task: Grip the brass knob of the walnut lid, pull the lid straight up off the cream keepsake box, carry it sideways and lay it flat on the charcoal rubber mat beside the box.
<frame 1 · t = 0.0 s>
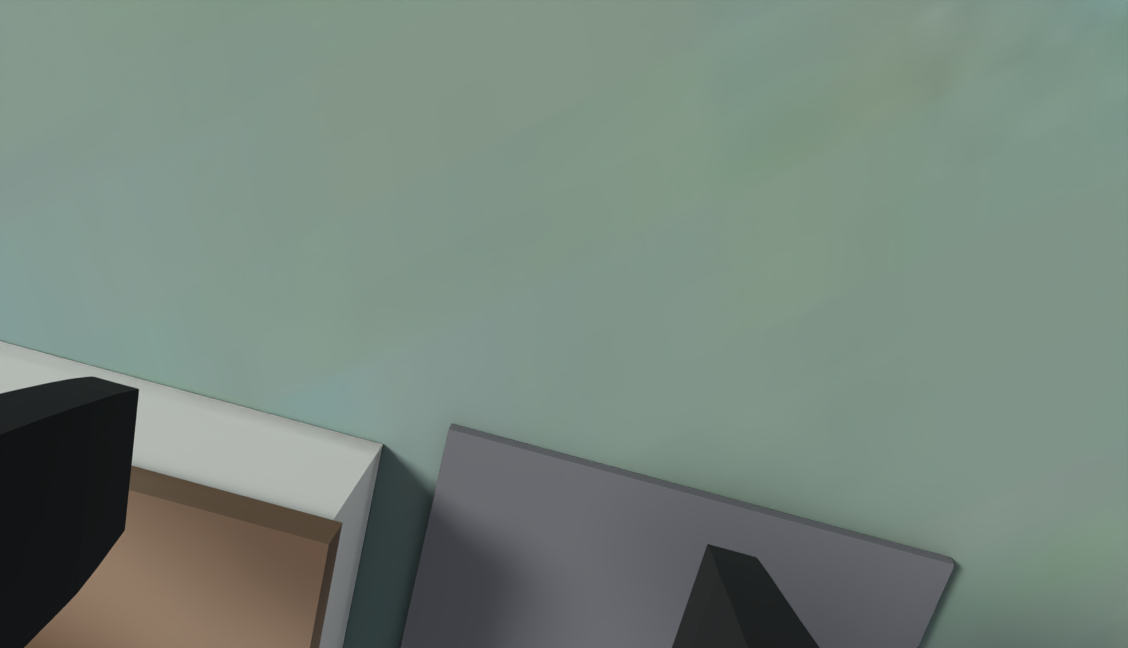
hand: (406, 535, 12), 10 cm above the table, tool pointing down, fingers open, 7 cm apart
box: (141, 574, 25), on the table
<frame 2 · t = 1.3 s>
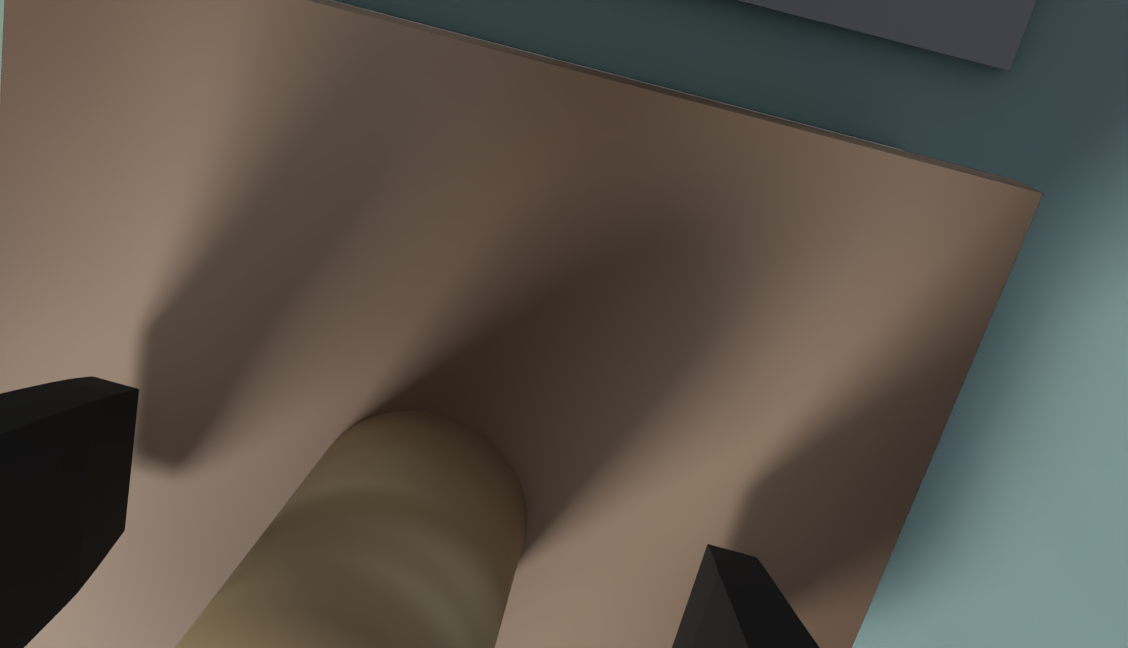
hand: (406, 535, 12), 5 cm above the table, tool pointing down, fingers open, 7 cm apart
lid: (433, 481, 13), point 4 cm above the table, touching box
box: (486, 374, 17), on the table
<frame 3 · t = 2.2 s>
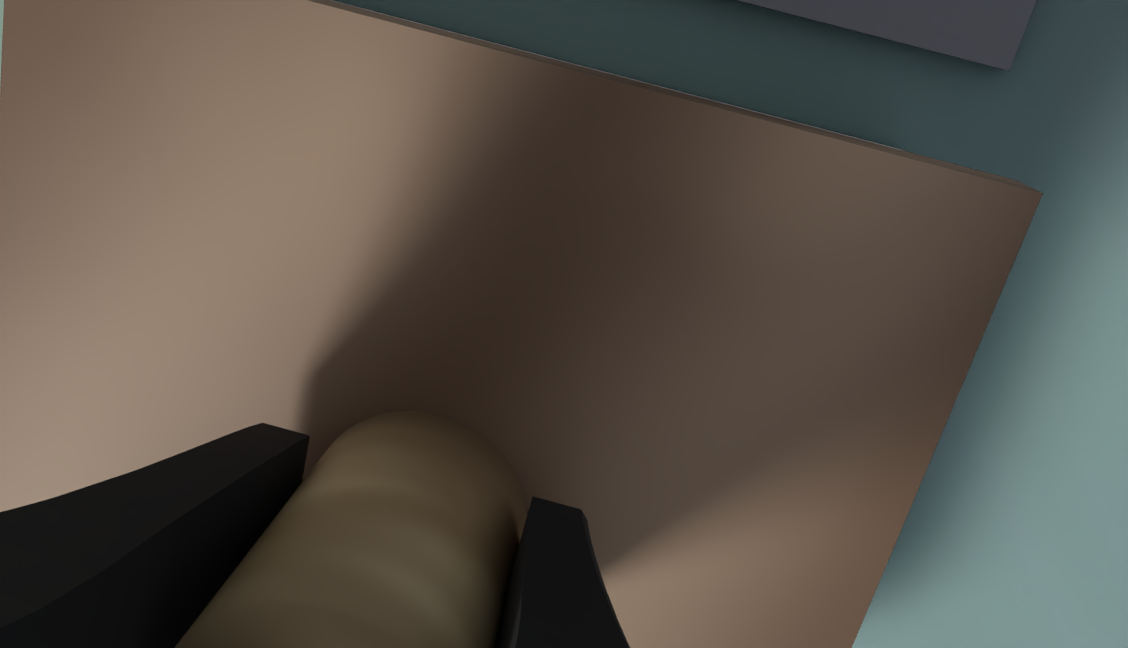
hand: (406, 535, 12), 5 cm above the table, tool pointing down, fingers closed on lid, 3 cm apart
lid: (433, 481, 13), point 4 cm above the table, touching box, gripper
box: (486, 374, 17), on the table
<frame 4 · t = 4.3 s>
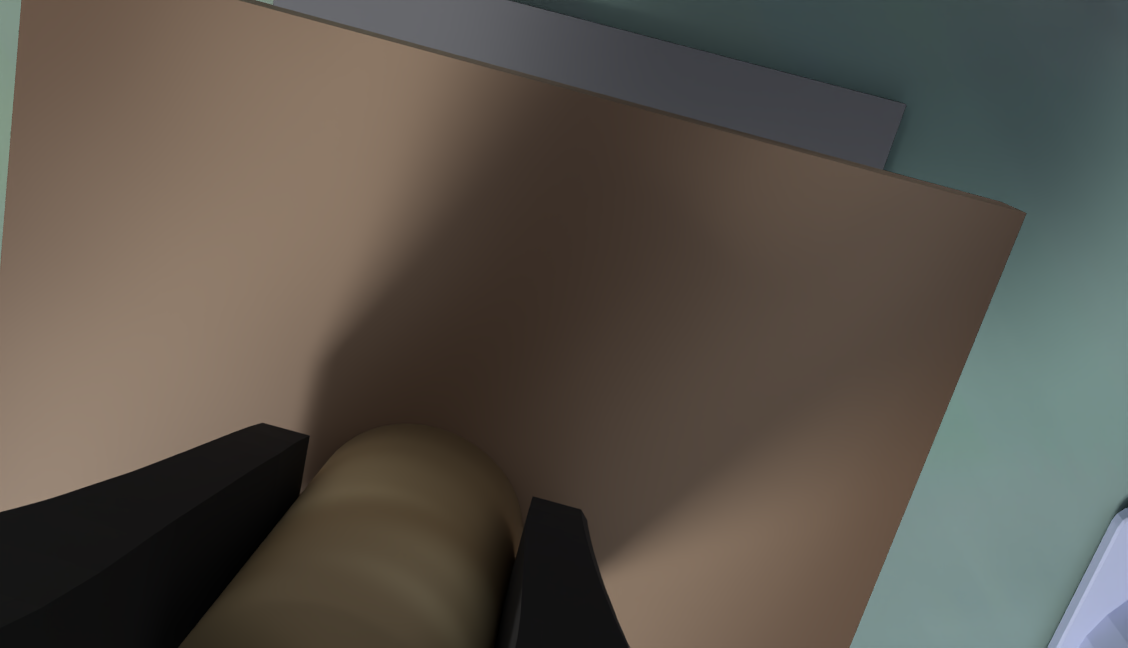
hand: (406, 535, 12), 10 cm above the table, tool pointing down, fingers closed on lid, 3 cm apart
mat: (526, 293, 21), on the table
lid: (430, 496, 13), point 9 cm above the table, touching gripper
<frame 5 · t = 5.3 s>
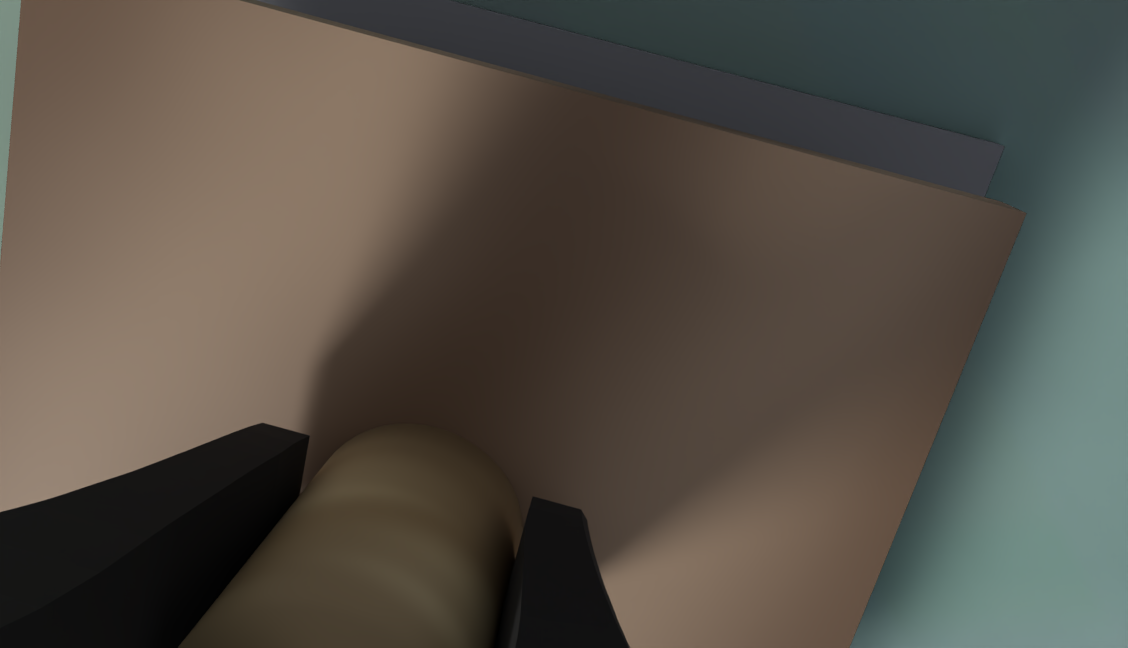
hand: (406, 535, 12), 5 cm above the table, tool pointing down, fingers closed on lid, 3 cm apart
mat: (478, 394, 16), on the table
lid: (429, 496, 13), point 3 cm above the table, touching gripper
when the fingers open (4 cm above the table, at t = 6.2 s): lid drops 1 cm, resting on mat.
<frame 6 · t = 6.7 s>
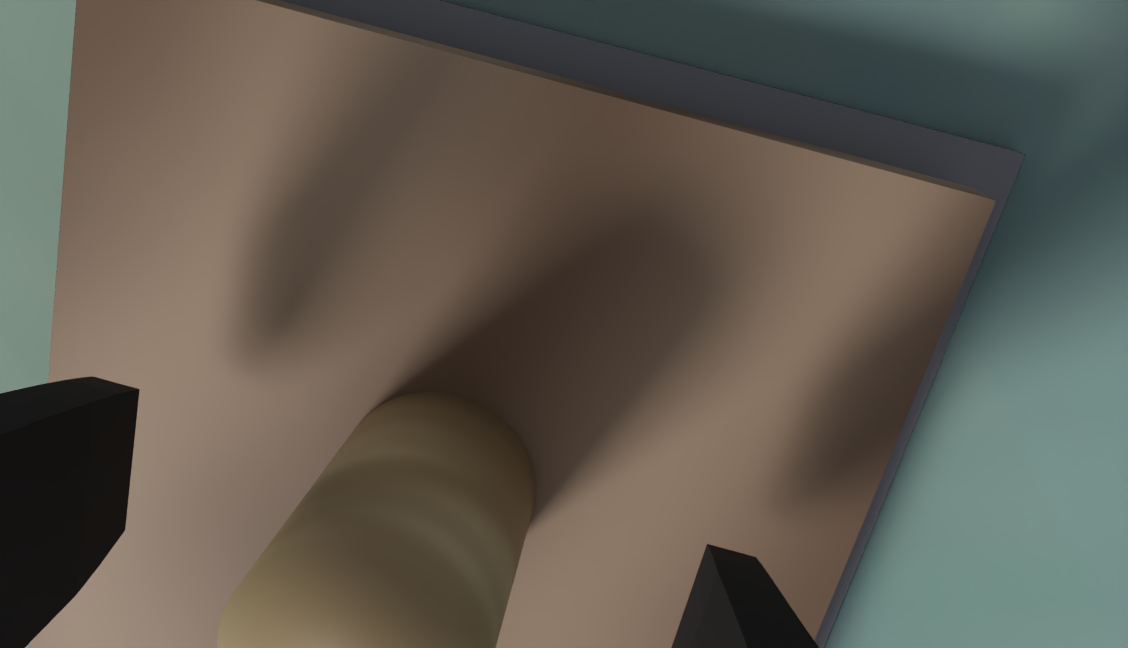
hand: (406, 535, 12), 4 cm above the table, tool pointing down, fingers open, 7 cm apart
mat: (466, 416, 15), on the table
lid: (450, 457, 14), point 1 cm above the table, touching mat
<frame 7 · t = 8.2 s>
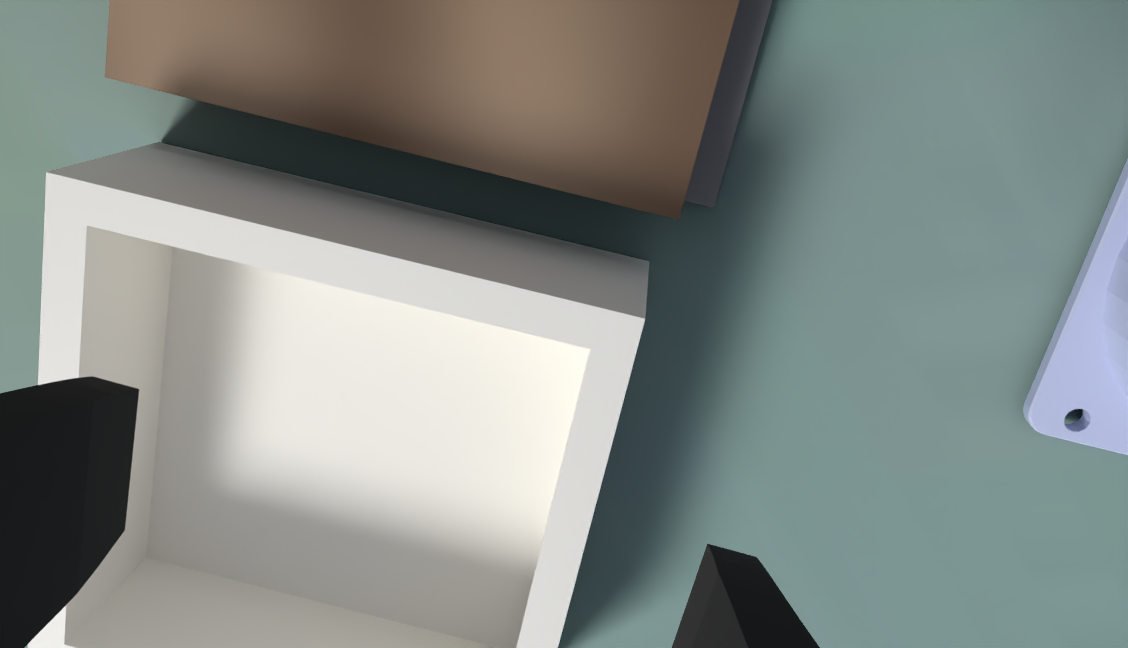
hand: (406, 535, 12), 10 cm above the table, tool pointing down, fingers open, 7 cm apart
box: (365, 425, 22), on the table
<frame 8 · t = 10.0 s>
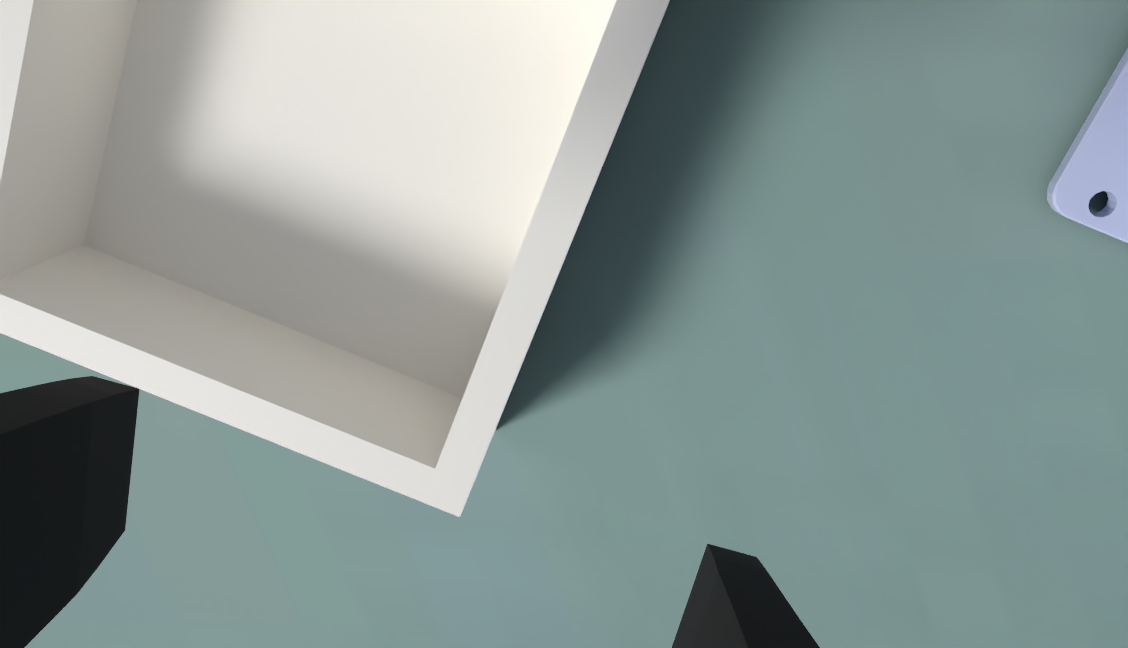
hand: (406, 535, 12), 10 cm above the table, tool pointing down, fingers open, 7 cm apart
box: (345, 125, 21), on the table
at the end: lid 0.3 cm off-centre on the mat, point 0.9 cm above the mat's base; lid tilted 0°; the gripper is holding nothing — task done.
